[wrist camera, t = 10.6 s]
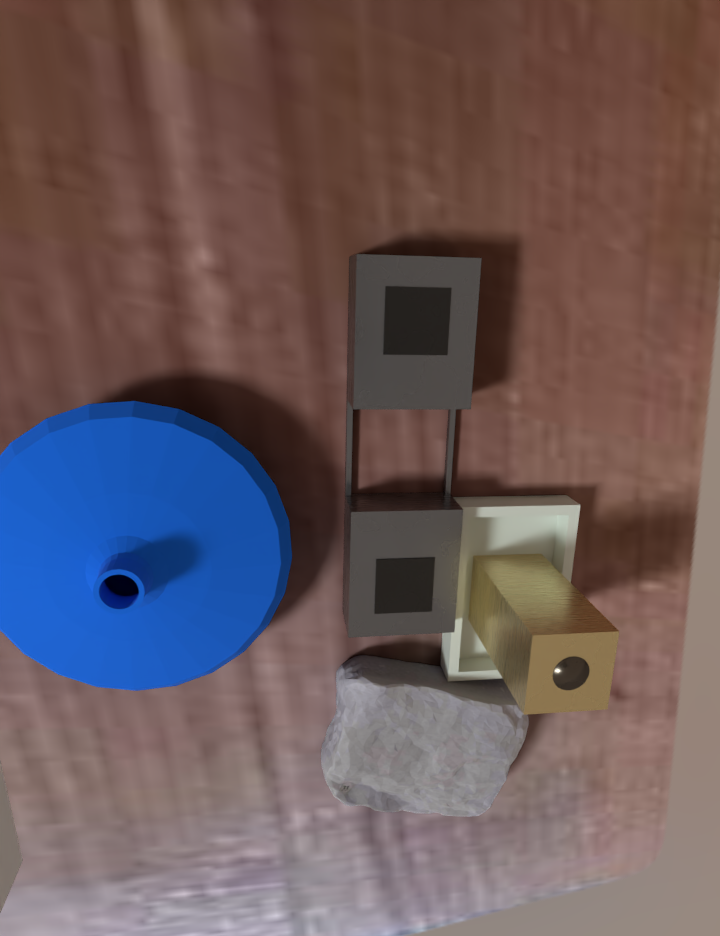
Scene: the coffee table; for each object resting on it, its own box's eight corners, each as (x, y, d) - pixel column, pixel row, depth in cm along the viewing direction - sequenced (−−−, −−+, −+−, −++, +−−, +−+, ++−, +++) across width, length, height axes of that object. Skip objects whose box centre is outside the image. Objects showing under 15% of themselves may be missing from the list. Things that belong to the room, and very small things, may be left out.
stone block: (473, 770, 45) (524, 665, 41) (489, 836, 41) (547, 726, 36) (308, 747, 43) (343, 635, 39) (306, 814, 39) (345, 695, 35)
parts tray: (451, 497, 37) (460, 507, 35) (566, 495, 38) (580, 504, 36) (440, 664, 40) (448, 681, 38) (547, 658, 41) (559, 675, 39)
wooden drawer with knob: (473, 555, 38) (532, 635, 29) (541, 553, 38) (619, 631, 30) (468, 619, 39) (523, 714, 30) (534, 616, 39) (607, 709, 31)
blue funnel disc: (45, 688, 37) (-3, 778, 30) (-55, 424, 32) (-139, 461, 25) (314, 624, 38) (325, 696, 31) (255, 364, 33) (254, 383, 27)
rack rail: (349, 256, 32) (356, 253, 30) (463, 260, 33) (482, 257, 30) (342, 610, 38) (348, 637, 35) (441, 606, 39) (454, 633, 36)
